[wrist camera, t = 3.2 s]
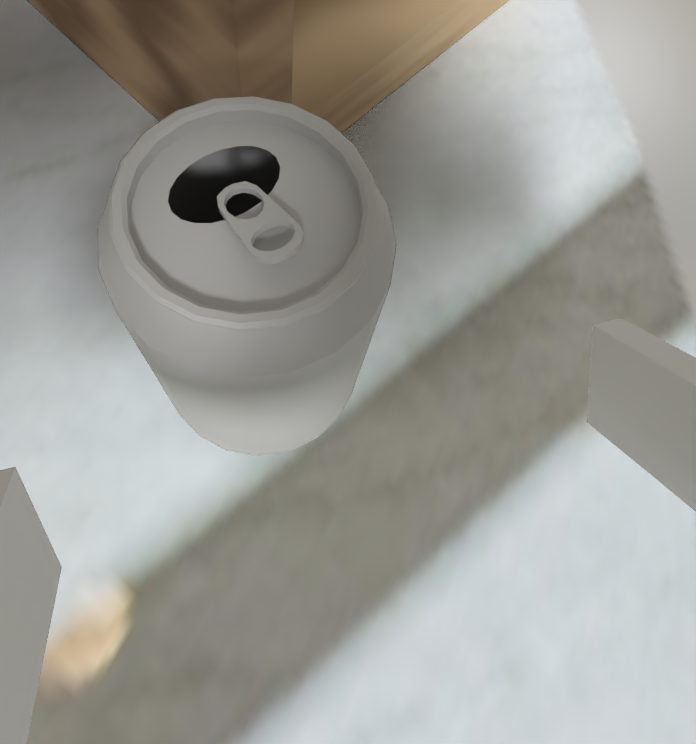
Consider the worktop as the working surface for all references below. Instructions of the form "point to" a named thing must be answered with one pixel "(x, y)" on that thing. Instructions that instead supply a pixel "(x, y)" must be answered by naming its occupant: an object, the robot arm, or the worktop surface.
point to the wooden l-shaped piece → (265, 48)
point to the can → (248, 267)
